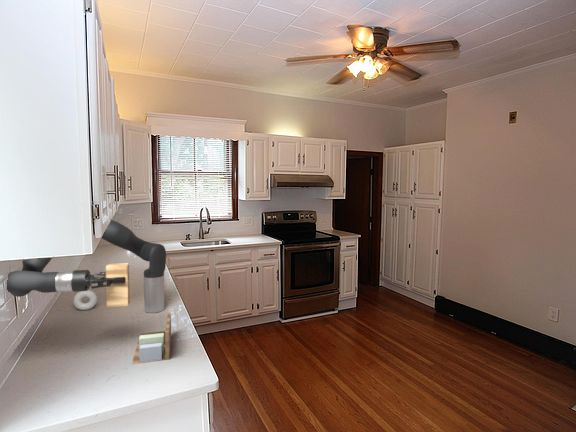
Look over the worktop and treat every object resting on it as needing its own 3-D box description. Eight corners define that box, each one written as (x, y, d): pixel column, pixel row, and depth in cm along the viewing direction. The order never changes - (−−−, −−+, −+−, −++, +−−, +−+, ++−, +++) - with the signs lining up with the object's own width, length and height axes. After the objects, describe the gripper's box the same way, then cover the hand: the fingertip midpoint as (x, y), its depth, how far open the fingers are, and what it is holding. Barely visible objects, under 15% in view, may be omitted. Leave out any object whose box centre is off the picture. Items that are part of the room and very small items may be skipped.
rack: (138, 342, 132) (138, 314, 131) (171, 338, 135) (170, 311, 134) (131, 367, 113) (130, 335, 112) (169, 362, 117) (168, 331, 116)
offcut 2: (140, 358, 117) (140, 345, 116) (162, 356, 119) (161, 342, 119) (139, 362, 115) (139, 348, 114) (161, 359, 117) (161, 345, 116)
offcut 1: (140, 354, 120) (140, 335, 120) (164, 351, 123) (163, 332, 122) (139, 358, 117) (138, 339, 117) (163, 355, 120) (163, 336, 119)
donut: (73, 312, 161) (72, 292, 160) (74, 310, 164) (73, 290, 163) (97, 309, 165) (96, 289, 164) (97, 307, 168) (97, 287, 167)
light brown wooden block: (109, 303, 125) (108, 264, 124) (129, 302, 127) (129, 263, 126) (106, 307, 121) (105, 266, 120) (127, 305, 123) (127, 265, 122)
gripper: (66, 275, 112) (123, 273, 117) (79, 266, 125) (129, 264, 130) (67, 297, 112) (123, 294, 117) (79, 285, 126) (129, 282, 131)
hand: (126, 278), depth 124 cm, fingers closed on light brown wooden block, 4 cm apart
